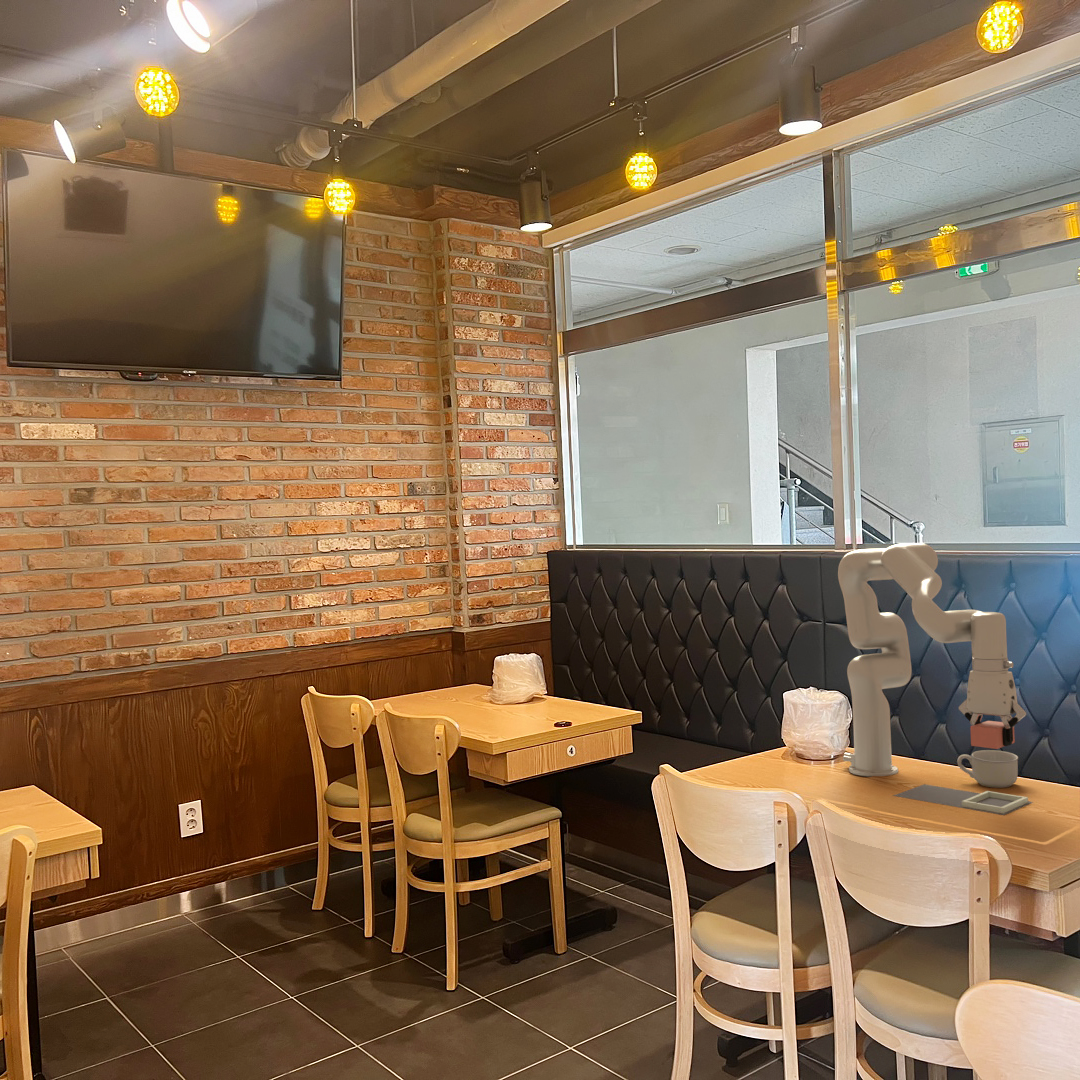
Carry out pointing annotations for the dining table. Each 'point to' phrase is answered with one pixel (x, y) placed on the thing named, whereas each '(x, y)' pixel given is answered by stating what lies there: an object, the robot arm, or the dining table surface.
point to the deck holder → (972, 804)
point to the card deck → (988, 734)
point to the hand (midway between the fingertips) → (992, 742)
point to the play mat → (952, 797)
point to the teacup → (992, 767)
